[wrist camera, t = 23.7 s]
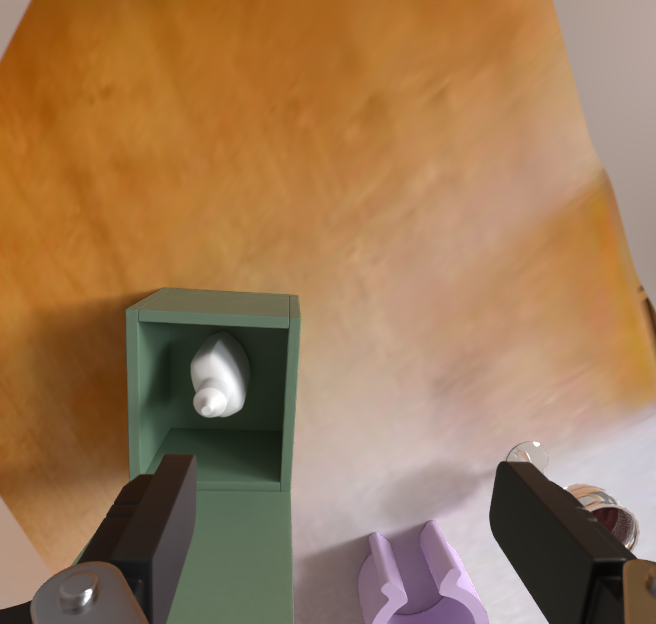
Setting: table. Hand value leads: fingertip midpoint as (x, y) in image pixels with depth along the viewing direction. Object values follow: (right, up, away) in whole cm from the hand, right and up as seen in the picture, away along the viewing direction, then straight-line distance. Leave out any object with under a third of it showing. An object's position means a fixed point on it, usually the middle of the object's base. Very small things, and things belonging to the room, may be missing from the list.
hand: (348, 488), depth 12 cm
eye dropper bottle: (-10, 0, +31) cm, 33 cm away
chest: (-10, -1, +32) cm, 34 cm away
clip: (+9, -29, +40) cm, 51 cm away
